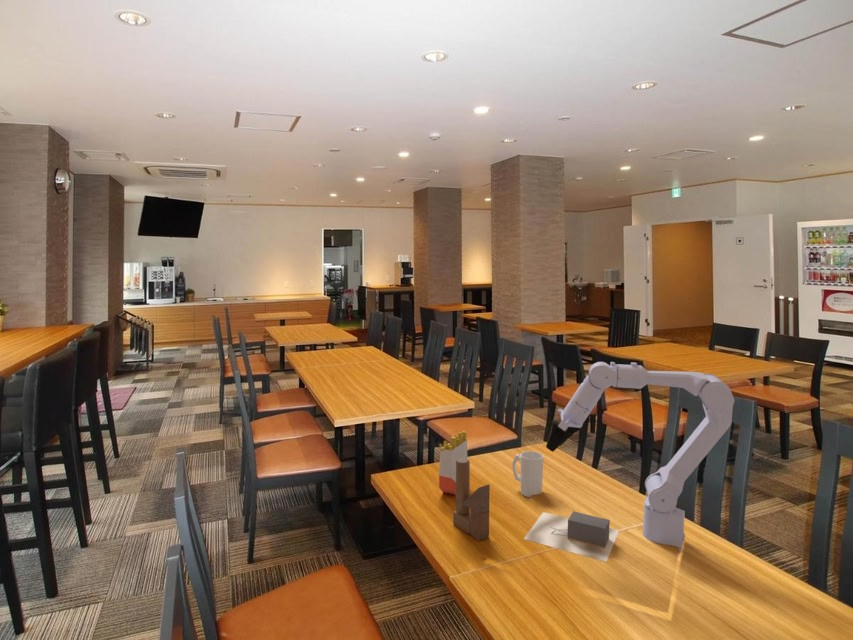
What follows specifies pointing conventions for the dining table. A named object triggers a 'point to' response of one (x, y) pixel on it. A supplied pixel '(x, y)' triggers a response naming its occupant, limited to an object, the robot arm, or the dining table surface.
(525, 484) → the mug
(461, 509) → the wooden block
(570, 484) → the dining table surface
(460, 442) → the french fries container
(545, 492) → the dining table surface
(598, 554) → the board
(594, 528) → the block
